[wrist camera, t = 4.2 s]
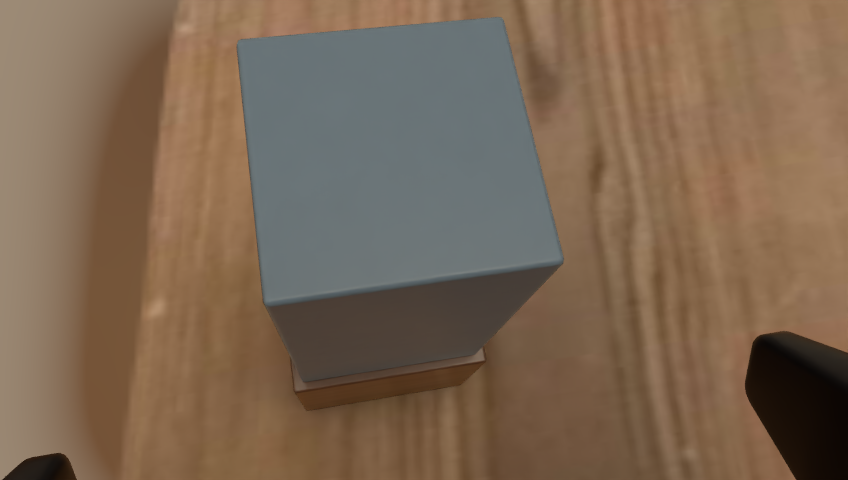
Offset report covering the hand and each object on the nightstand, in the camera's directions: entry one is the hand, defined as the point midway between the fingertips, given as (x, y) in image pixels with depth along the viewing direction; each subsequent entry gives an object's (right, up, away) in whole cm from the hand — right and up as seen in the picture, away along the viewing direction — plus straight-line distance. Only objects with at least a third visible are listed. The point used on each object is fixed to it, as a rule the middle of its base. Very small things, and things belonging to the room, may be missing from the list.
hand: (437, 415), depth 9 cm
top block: (-1, +1, +7) cm, 7 cm away
